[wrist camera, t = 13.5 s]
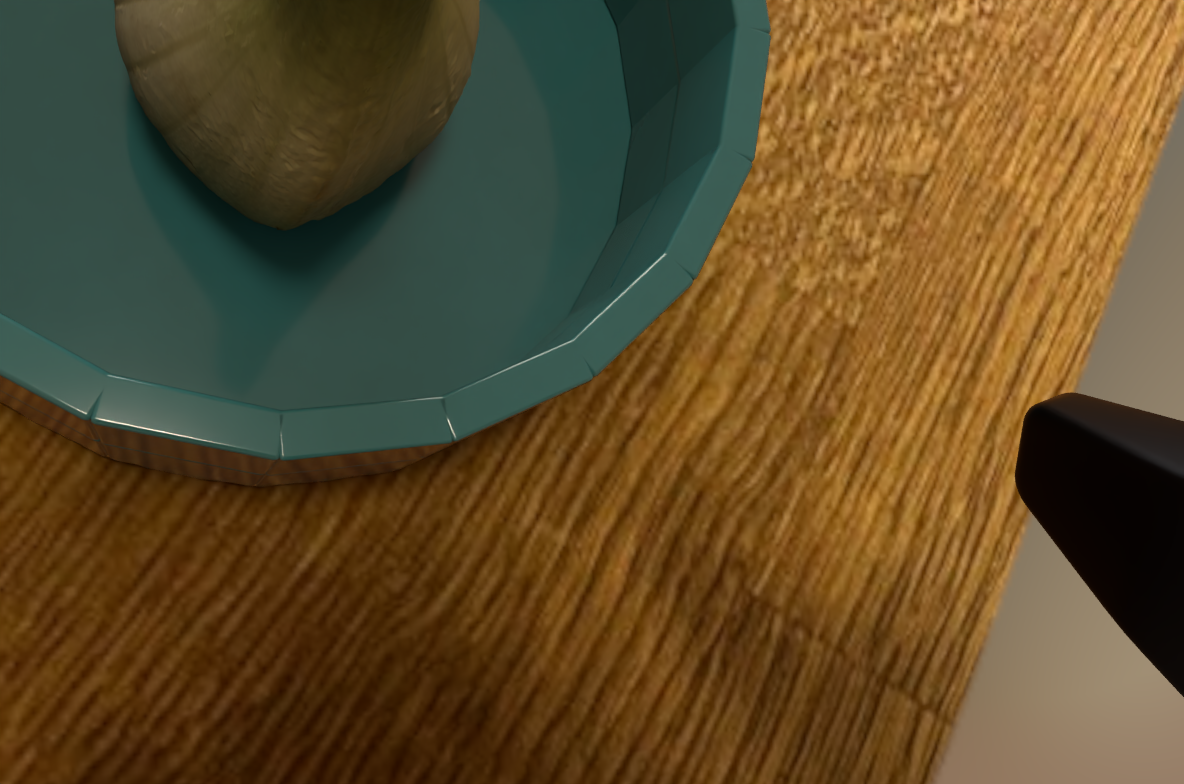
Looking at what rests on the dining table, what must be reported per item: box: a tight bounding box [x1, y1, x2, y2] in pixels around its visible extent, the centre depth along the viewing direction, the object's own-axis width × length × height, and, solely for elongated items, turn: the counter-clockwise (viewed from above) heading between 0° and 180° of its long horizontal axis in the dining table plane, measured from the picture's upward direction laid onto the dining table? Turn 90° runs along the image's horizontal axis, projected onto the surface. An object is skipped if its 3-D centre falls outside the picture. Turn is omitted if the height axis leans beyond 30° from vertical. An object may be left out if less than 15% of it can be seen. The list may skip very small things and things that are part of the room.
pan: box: [0, 0, 771, 487], centre depth 16 cm, size 13×13×4 cm
